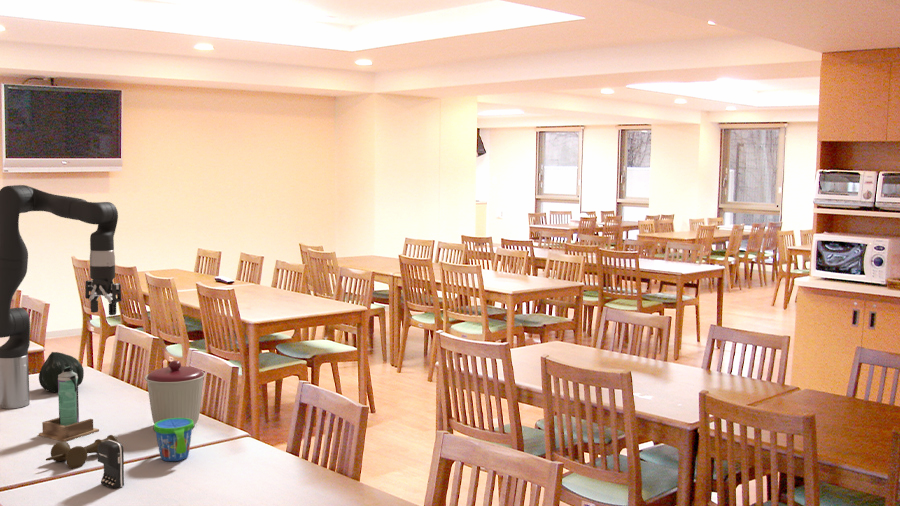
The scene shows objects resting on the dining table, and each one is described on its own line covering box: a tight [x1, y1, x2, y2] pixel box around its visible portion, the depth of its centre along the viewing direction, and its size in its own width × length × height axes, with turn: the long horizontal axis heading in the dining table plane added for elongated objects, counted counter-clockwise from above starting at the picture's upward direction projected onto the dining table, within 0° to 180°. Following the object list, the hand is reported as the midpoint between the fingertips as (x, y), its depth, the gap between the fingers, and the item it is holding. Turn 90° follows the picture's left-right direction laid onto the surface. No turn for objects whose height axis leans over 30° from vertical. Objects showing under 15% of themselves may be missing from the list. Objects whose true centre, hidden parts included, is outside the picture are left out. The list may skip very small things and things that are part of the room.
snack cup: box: [153, 418, 195, 462], centre depth 231 cm, size 16×10×10 cm
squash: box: [38, 351, 85, 393], centre depth 300 cm, size 14×15×15 cm
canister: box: [144, 360, 206, 426], centre depth 259 cm, size 18×18×21 cm
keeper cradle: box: [38, 417, 100, 442], centre depth 252 cm, size 12×12×4 cm
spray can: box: [57, 366, 80, 426], centre depth 251 cm, size 6×6×20 cm
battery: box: [96, 440, 125, 489], centre depth 210 cm, size 7×4×11 cm, turn 54°
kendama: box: [45, 434, 118, 469], centre depth 229 cm, size 6×10×20 cm
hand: (103, 313), depth 267 cm, fingers open, 8 cm apart
